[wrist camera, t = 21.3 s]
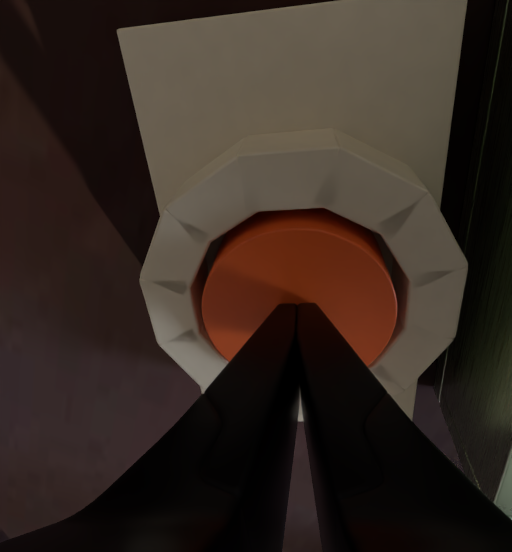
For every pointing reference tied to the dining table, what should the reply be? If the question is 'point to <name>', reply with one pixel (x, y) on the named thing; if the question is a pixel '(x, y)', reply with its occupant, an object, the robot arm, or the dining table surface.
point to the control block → (302, 155)
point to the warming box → (486, 289)
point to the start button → (300, 279)
